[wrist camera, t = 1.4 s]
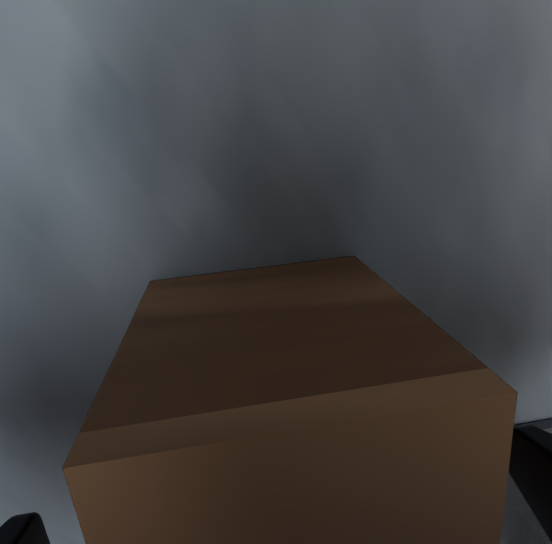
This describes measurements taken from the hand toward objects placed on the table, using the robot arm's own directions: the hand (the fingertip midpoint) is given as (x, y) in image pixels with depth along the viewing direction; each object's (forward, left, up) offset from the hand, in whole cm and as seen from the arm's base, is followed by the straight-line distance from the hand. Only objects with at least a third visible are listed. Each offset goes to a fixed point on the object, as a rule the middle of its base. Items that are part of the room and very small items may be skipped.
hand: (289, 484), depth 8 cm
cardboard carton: (0, 0, -5) cm, 5 cm away
